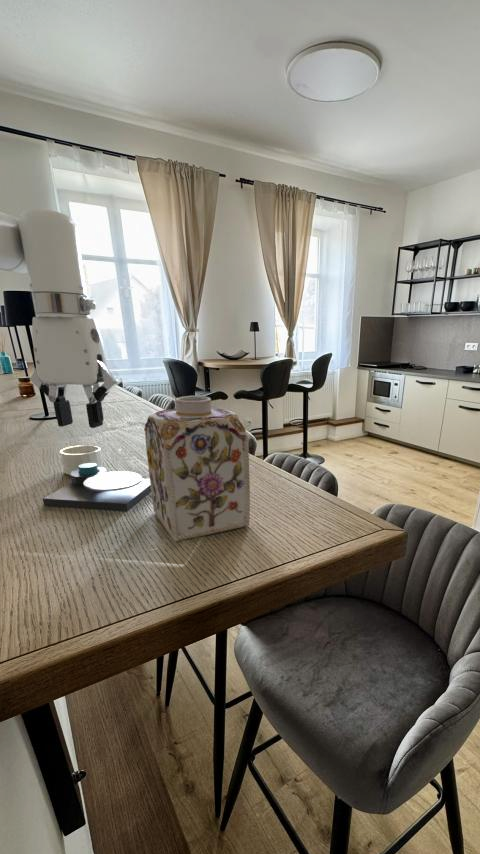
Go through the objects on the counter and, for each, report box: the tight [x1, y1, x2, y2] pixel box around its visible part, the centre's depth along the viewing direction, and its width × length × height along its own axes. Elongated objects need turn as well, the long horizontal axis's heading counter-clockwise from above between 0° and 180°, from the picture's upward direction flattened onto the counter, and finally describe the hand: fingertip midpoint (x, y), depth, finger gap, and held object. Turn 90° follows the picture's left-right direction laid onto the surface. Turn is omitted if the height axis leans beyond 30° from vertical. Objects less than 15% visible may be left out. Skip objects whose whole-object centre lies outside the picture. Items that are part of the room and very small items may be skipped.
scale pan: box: [83, 471, 143, 491], centre depth 68 cm, size 9×9×1 cm
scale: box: [42, 467, 151, 513], centre depth 70 cm, size 14×12×3 cm
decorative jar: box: [143, 395, 251, 543], centre depth 59 cm, size 12×12×18 cm
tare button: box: [78, 463, 98, 475], centre depth 73 cm, size 3×3×2 cm
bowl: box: [59, 444, 104, 476], centre depth 82 cm, size 7×7×4 cm
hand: (81, 424), depth 70 cm, fingers open, 4 cm apart
